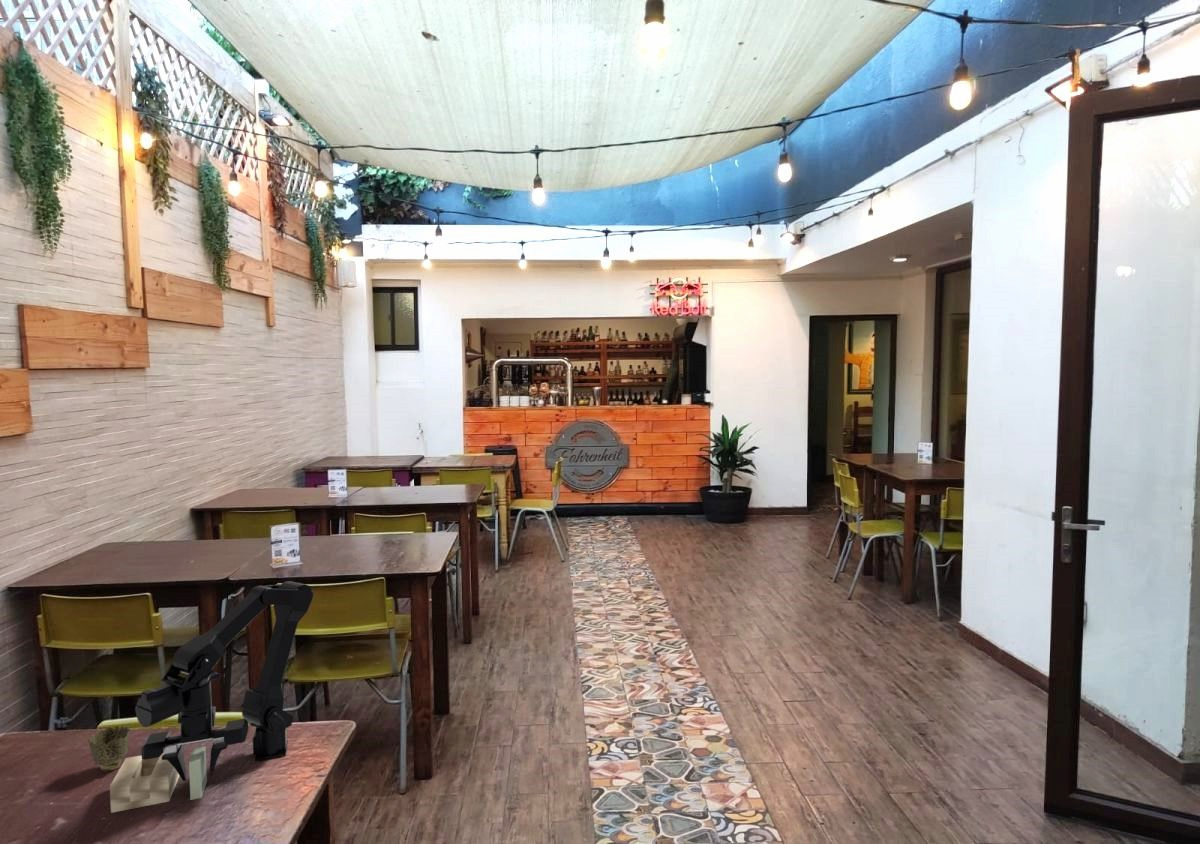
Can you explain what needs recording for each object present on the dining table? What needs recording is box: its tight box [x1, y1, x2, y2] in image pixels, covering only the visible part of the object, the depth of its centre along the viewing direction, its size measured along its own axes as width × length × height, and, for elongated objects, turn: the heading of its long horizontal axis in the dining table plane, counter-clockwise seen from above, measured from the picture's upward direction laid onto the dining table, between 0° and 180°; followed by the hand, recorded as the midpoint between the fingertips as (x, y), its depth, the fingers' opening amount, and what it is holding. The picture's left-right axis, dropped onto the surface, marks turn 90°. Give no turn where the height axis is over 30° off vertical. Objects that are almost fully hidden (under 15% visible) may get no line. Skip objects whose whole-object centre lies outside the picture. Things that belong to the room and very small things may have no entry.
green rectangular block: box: [188, 745, 208, 801], centre depth 141 cm, size 2×6×8 cm, turn 21°
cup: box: [88, 725, 131, 772], centre depth 150 cm, size 8×7×8 cm
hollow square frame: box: [109, 754, 180, 814], centre depth 141 cm, size 10×11×6 cm
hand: (198, 777), depth 141 cm, fingers open, 5 cm apart
